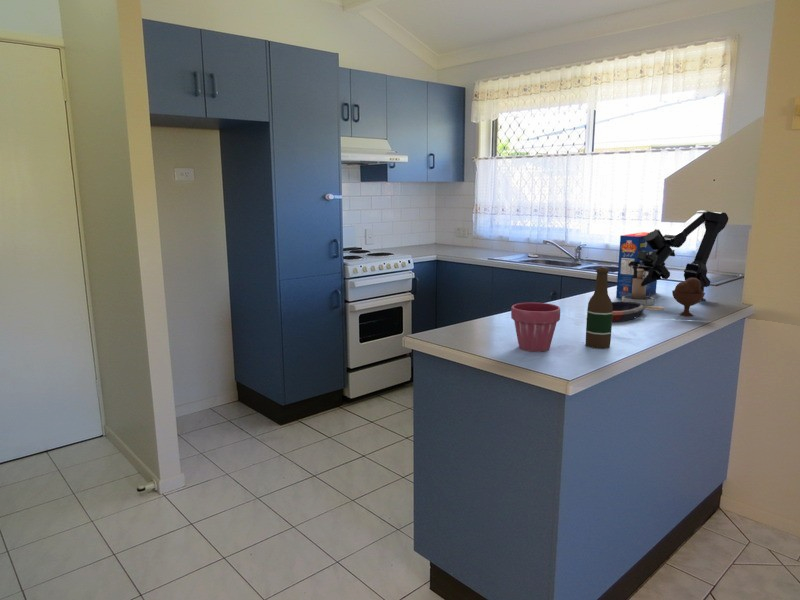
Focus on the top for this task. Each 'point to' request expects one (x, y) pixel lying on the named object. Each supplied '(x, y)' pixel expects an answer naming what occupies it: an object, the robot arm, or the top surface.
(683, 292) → the ice cream bowl
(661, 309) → the coaster
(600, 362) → the top surface
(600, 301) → the beer bottle
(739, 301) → the top surface
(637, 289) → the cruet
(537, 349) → the plant pot
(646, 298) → the slate dish
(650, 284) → the pasta box
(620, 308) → the dish
